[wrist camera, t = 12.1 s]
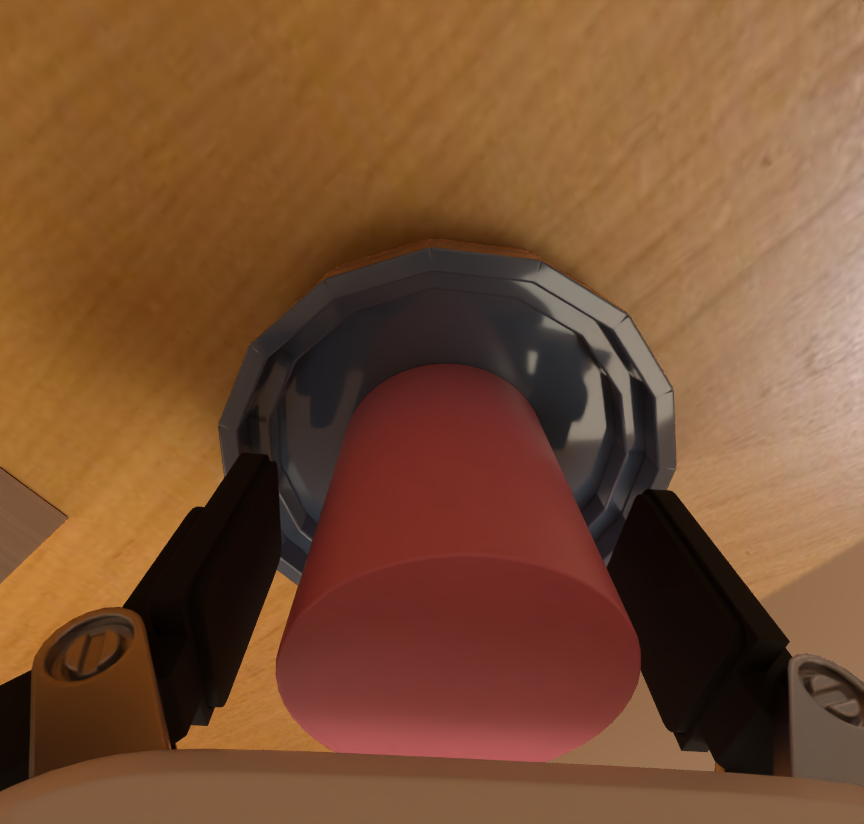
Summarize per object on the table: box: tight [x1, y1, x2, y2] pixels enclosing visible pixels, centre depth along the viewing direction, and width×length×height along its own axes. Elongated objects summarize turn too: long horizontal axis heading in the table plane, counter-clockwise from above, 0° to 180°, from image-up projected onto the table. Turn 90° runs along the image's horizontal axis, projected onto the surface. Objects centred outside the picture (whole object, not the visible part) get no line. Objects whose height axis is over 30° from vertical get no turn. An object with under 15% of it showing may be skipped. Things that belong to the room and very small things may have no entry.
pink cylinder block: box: [276, 364, 641, 762], centre depth 11 cm, size 6×6×7 cm
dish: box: [218, 238, 676, 585], centre depth 13 cm, size 12×12×2 cm
